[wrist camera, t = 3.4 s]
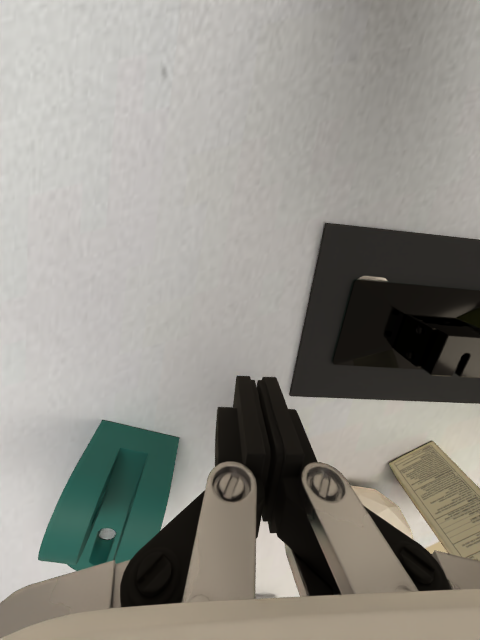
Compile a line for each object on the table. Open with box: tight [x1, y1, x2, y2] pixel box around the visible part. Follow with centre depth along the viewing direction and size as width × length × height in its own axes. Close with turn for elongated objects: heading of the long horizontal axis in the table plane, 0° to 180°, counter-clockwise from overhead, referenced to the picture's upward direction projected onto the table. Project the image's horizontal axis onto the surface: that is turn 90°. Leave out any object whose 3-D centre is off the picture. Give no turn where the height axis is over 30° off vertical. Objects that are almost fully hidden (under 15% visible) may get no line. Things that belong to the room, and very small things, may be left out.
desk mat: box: [290, 223, 480, 404], centre depth 21 cm, size 14×24×1 cm, turn 84°
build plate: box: [332, 276, 480, 378], centre depth 19 cm, size 12×7×5 cm, turn 84°
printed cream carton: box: [389, 441, 480, 561], centre depth 23 cm, size 5×4×10 cm
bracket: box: [38, 420, 179, 571], centre depth 22 cm, size 18×7×8 cm, turn 158°
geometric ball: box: [351, 486, 413, 539], centre depth 25 cm, size 8×8×8 cm
